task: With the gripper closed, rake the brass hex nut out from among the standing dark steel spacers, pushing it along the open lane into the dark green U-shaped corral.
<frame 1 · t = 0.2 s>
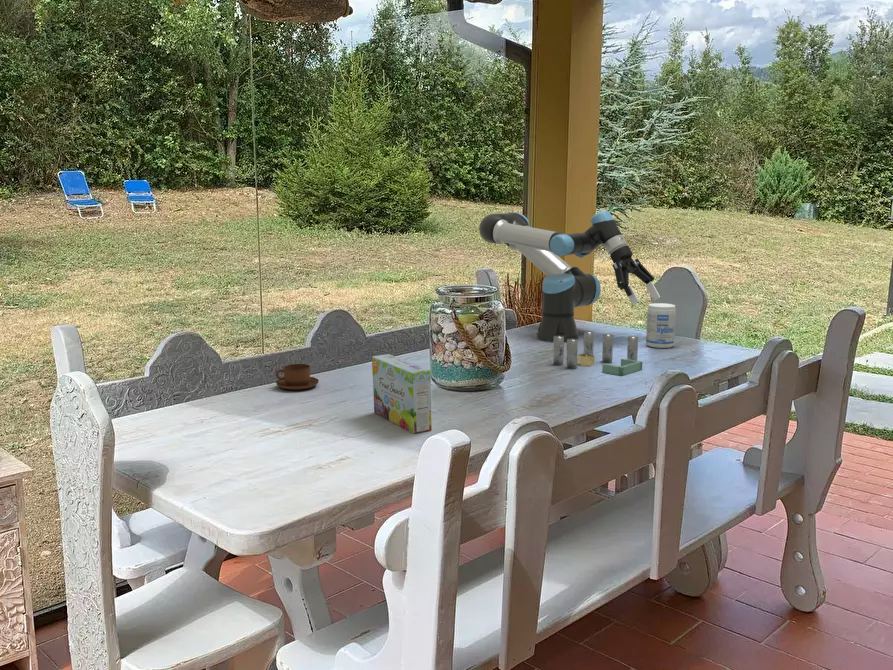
hand: (646, 301, 300), 15 cm above the table, tool tilted 35°, fingers open, 13 cm apart
spacers: (557, 338, 314), on the table
nut: (585, 364, 271), on the table
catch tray: (622, 370, 262), on the table
supplement tub: (659, 346, 299), on the table
snack box: (401, 422, 209), on the table
cup and saucer: (297, 388, 243), on the table
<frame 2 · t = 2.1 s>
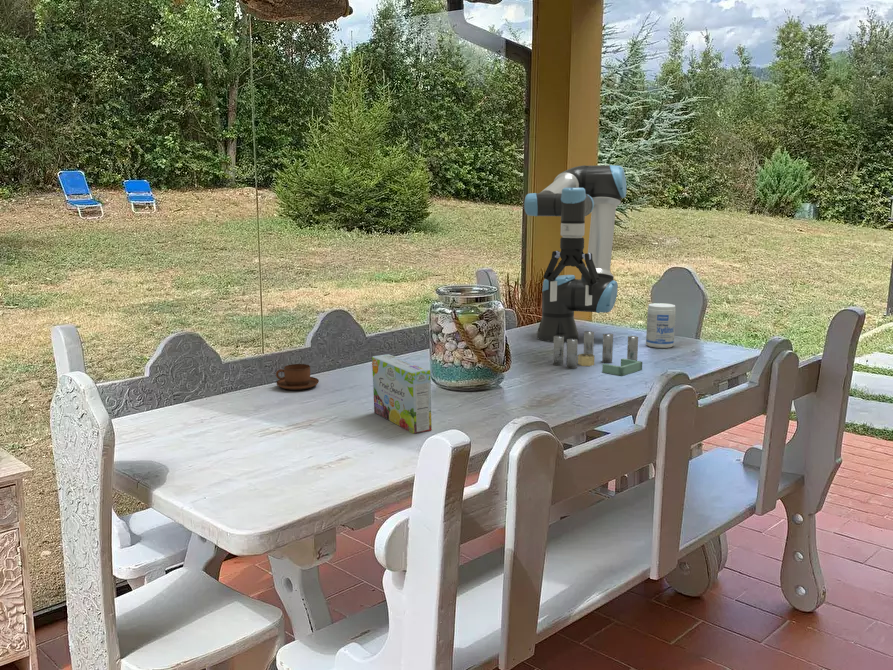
hand: (570, 303, 273), 19 cm above the table, tool pointing down, fingers open, 13 cm apart
nothing on the table moved.
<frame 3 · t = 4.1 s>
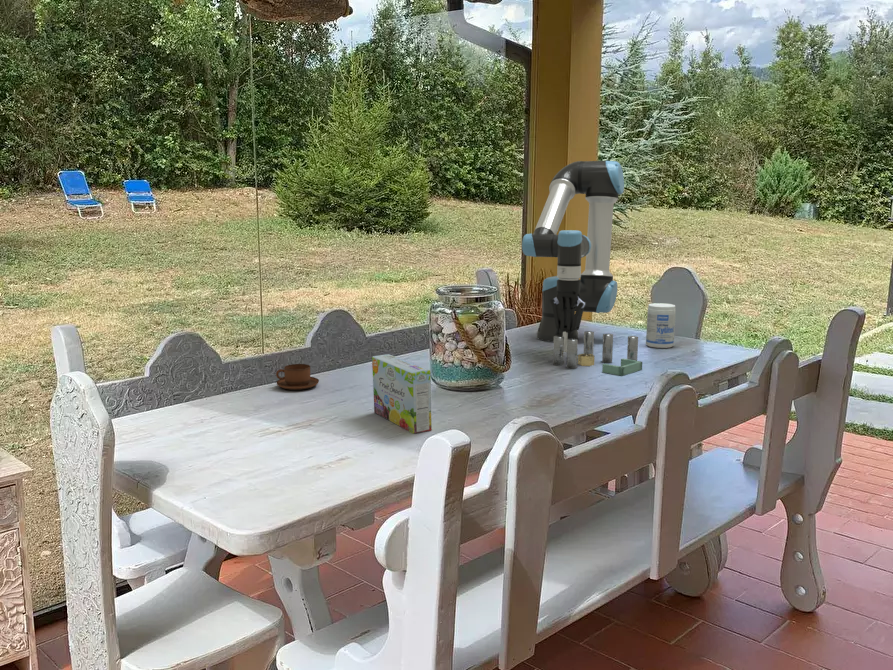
hand: (566, 351, 275), 3 cm above the table, tool pointing down, fingers closed
nothing on the table moved.
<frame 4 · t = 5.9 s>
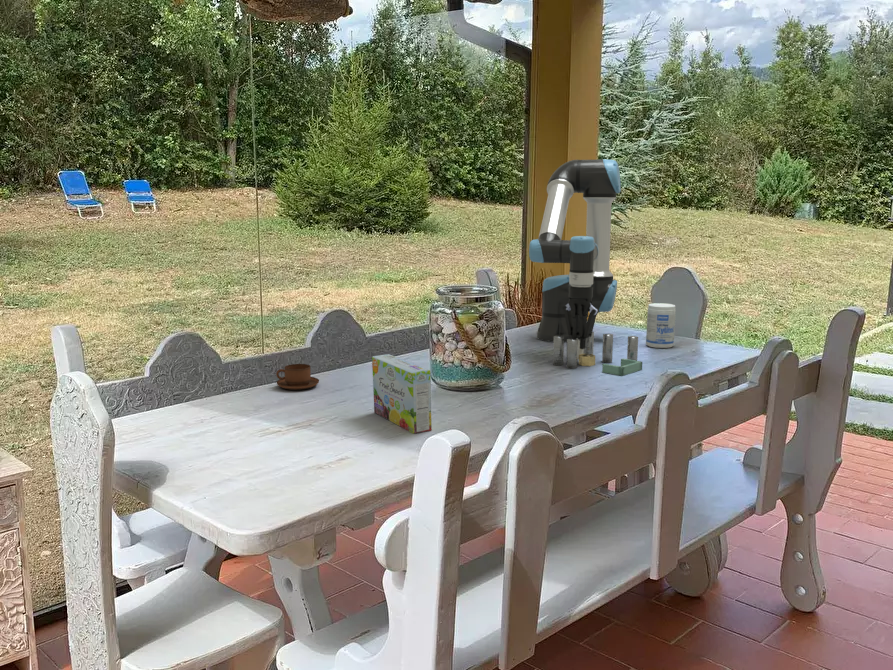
hand: (579, 358, 272), 2 cm above the table, tool pointing down, fingers closed
nut: (586, 364, 271), on the table, touching gripper
everything else where it was.
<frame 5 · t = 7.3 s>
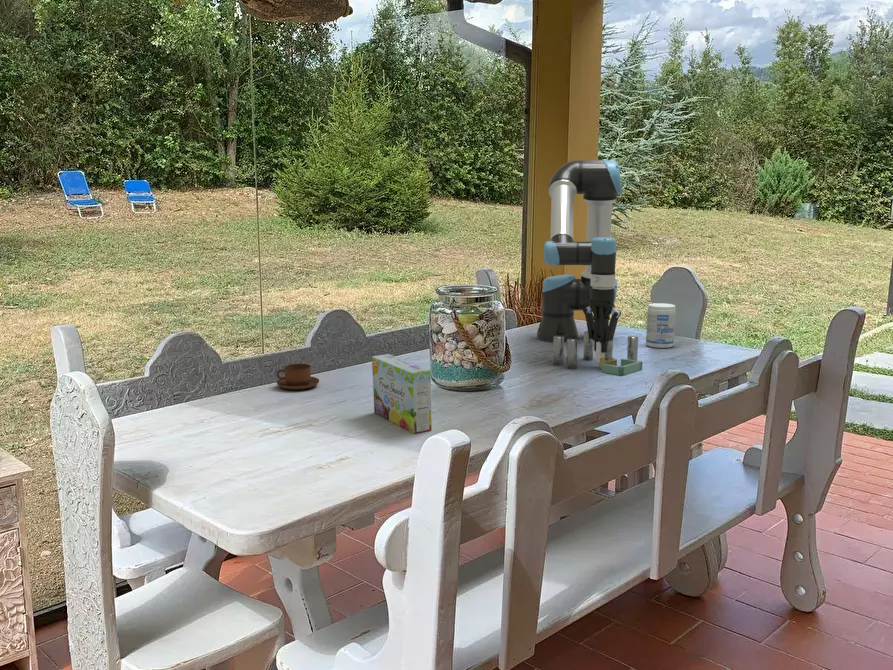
hand: (600, 362, 267), 2 cm above the table, tool pointing down, fingers closed
nut: (608, 368, 265), on the table, touching gripper
everything else where it was.
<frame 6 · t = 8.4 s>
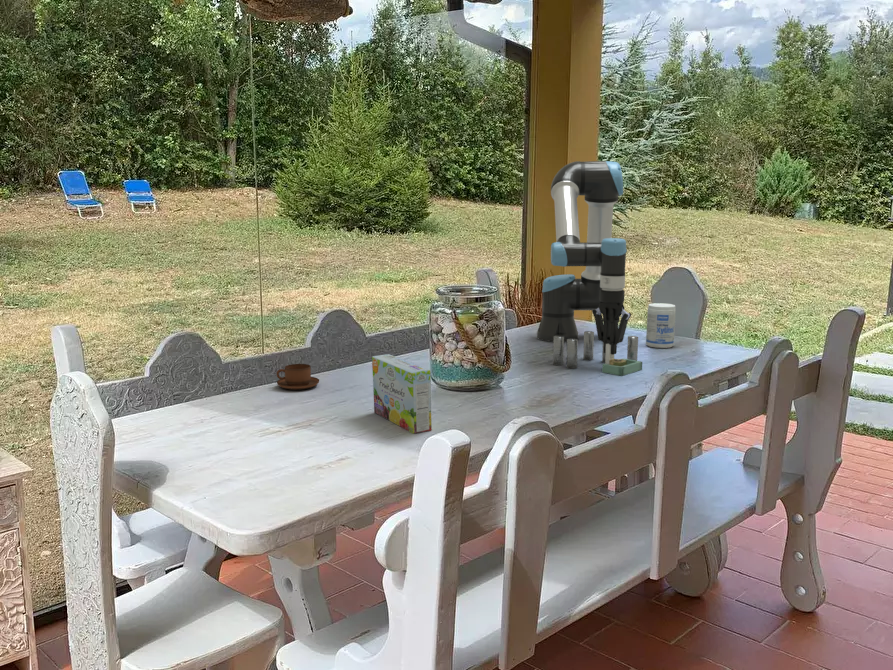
hand: (609, 364, 264), 1 cm above the table, tool pointing down, fingers closed
nut: (617, 370, 263), on the table, touching gripper
everything else where it was.
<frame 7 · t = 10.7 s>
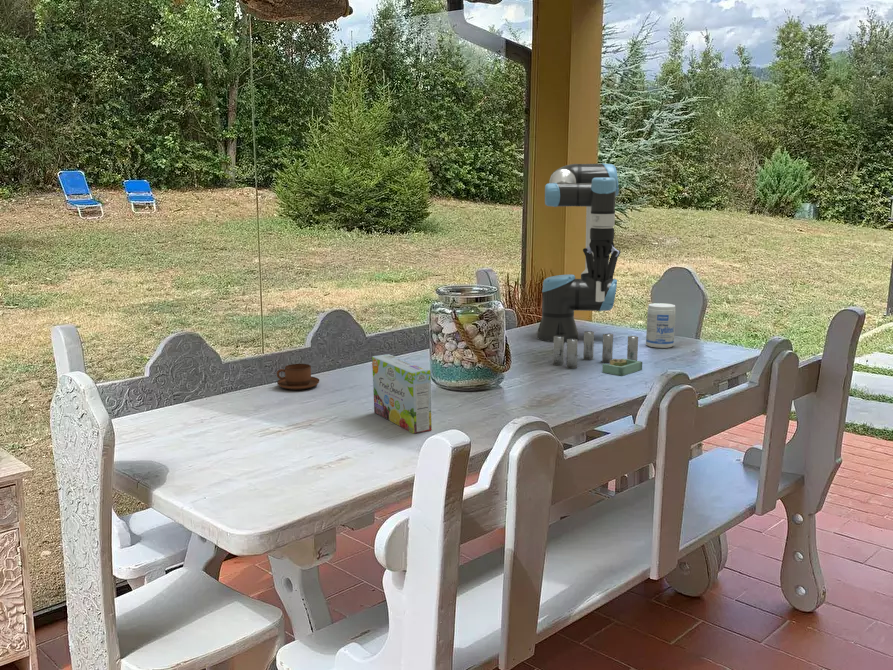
hand: (600, 301, 272), 20 cm above the table, tool pointing down, fingers closed
nut: (618, 370, 263), on the table
everything else where it was.
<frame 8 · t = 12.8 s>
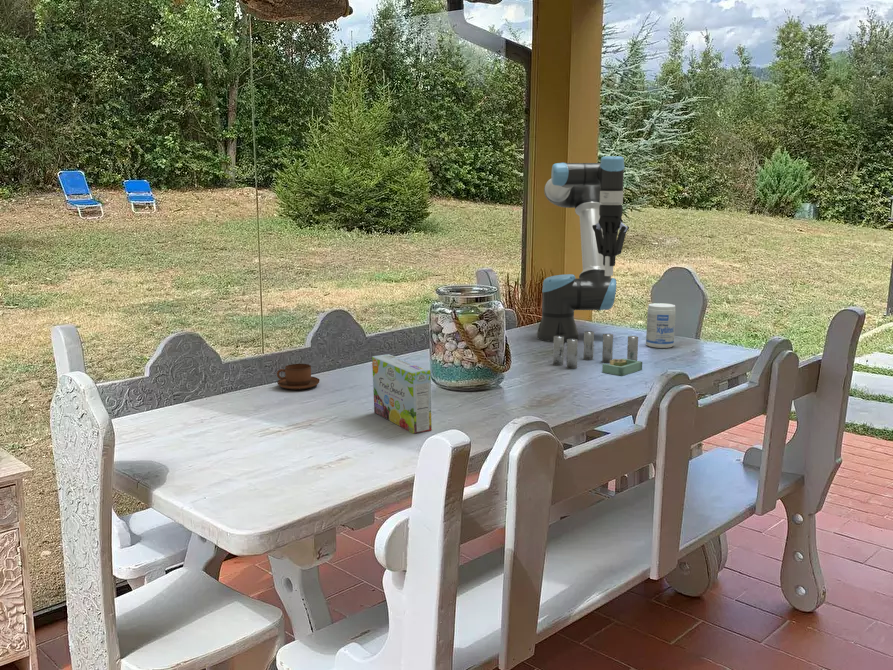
hand: (608, 275, 283), 26 cm above the table, tool pointing down, fingers closed
nothing on the table moved.
at the end: nut inside the target area on the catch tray (0.8 cm from its centre), point 0.0 cm above the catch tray's base; nut moved 12.0 cm from its start; nut touching table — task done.
